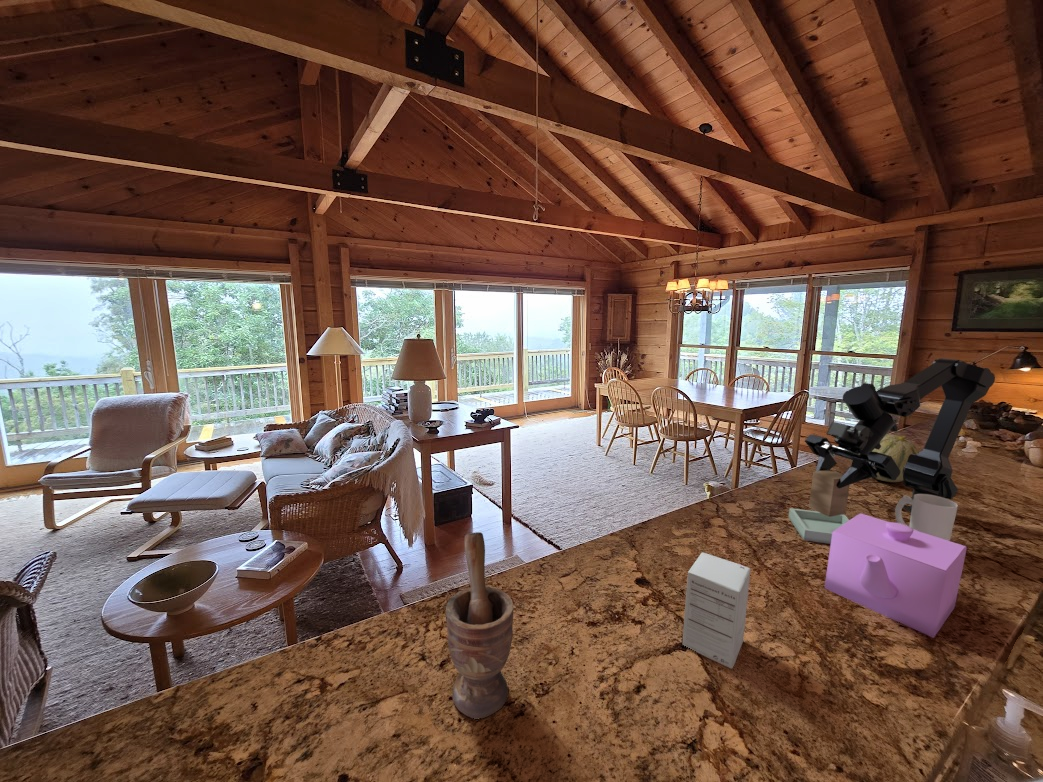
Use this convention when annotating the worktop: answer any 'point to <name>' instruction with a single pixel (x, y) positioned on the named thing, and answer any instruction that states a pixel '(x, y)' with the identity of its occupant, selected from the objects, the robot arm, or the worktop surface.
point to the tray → (815, 524)
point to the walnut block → (828, 493)
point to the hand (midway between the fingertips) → (826, 482)
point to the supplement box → (716, 608)
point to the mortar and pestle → (479, 637)
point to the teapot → (896, 571)
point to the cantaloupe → (896, 452)
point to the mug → (929, 514)
